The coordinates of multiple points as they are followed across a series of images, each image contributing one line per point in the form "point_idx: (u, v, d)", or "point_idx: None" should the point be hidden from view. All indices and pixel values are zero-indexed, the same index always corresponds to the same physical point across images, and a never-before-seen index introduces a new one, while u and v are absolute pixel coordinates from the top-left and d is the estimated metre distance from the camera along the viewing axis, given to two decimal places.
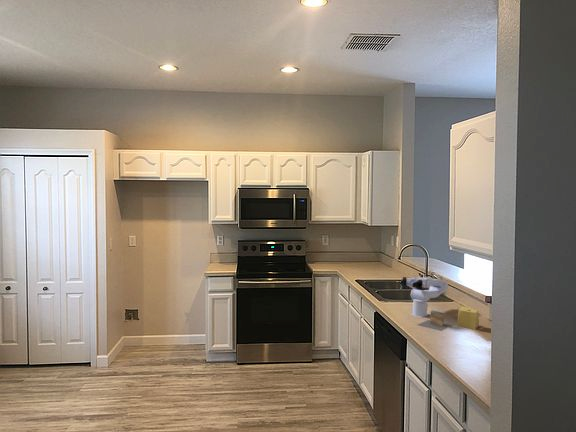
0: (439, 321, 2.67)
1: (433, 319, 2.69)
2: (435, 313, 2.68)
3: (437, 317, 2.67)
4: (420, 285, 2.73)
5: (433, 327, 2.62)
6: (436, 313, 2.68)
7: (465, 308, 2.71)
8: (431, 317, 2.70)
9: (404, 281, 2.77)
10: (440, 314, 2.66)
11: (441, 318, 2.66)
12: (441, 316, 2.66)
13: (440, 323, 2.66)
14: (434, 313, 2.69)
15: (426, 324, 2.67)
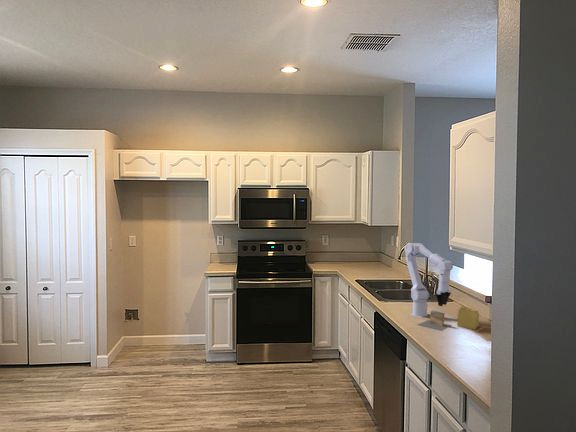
0: (439, 321, 2.67)
1: (433, 319, 2.69)
2: (435, 313, 2.68)
3: (437, 317, 2.67)
4: None
5: (433, 327, 2.62)
6: (436, 313, 2.68)
7: (465, 308, 2.71)
8: (431, 317, 2.70)
9: None
10: (440, 314, 2.66)
11: (441, 318, 2.66)
12: (441, 316, 2.66)
13: (440, 323, 2.66)
14: (434, 313, 2.69)
15: (426, 324, 2.67)
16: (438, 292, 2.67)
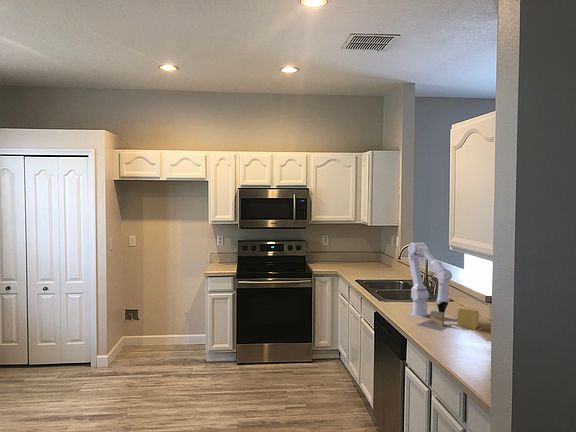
0: (439, 321, 2.67)
1: (433, 319, 2.69)
2: (435, 313, 2.68)
3: (437, 317, 2.67)
4: None
5: (433, 327, 2.62)
6: (436, 313, 2.68)
7: (465, 308, 2.71)
8: (431, 317, 2.70)
9: None
10: (440, 314, 2.66)
11: (441, 318, 2.66)
12: (441, 316, 2.66)
13: (440, 323, 2.66)
14: (434, 313, 2.69)
15: (426, 324, 2.67)
16: (437, 302, 2.67)
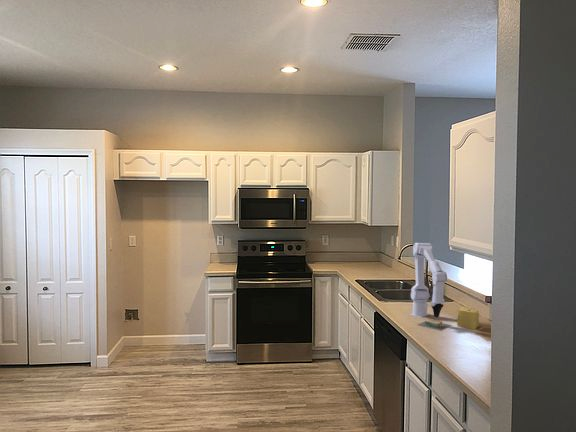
0: None
1: None
2: None
3: None
4: None
5: None
6: None
7: (465, 308, 2.71)
8: None
9: None
10: None
11: None
12: None
13: None
14: None
15: None
16: (432, 304, 2.62)
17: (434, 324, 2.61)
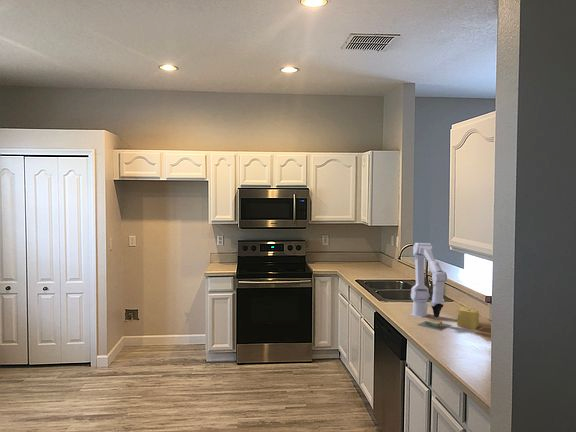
0: None
1: None
2: None
3: None
4: None
5: None
6: None
7: (465, 308, 2.71)
8: None
9: None
10: None
11: None
12: None
13: None
14: None
15: None
16: (432, 304, 2.61)
17: (434, 324, 2.61)
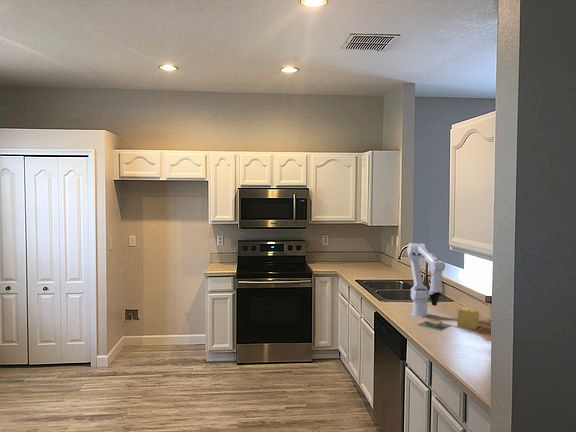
0: None
1: None
2: None
3: None
4: None
5: None
6: None
7: (465, 308, 2.71)
8: None
9: None
10: None
11: None
12: None
13: None
14: None
15: None
16: (430, 292, 2.65)
17: (434, 324, 2.61)
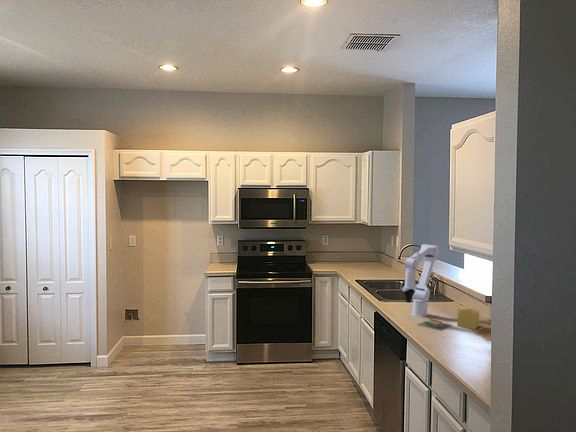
0: None
1: None
2: None
3: None
4: None
5: None
6: None
7: (465, 308, 2.71)
8: None
9: None
10: None
11: None
12: None
13: None
14: None
15: None
16: (404, 289, 2.69)
17: (434, 324, 2.61)
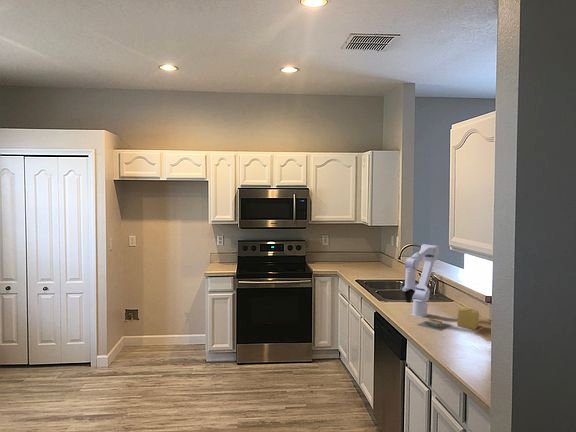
0: None
1: None
2: None
3: None
4: None
5: None
6: None
7: (465, 308, 2.71)
8: None
9: None
10: None
11: None
12: None
13: None
14: None
15: None
16: (404, 289, 2.69)
17: (434, 324, 2.61)
